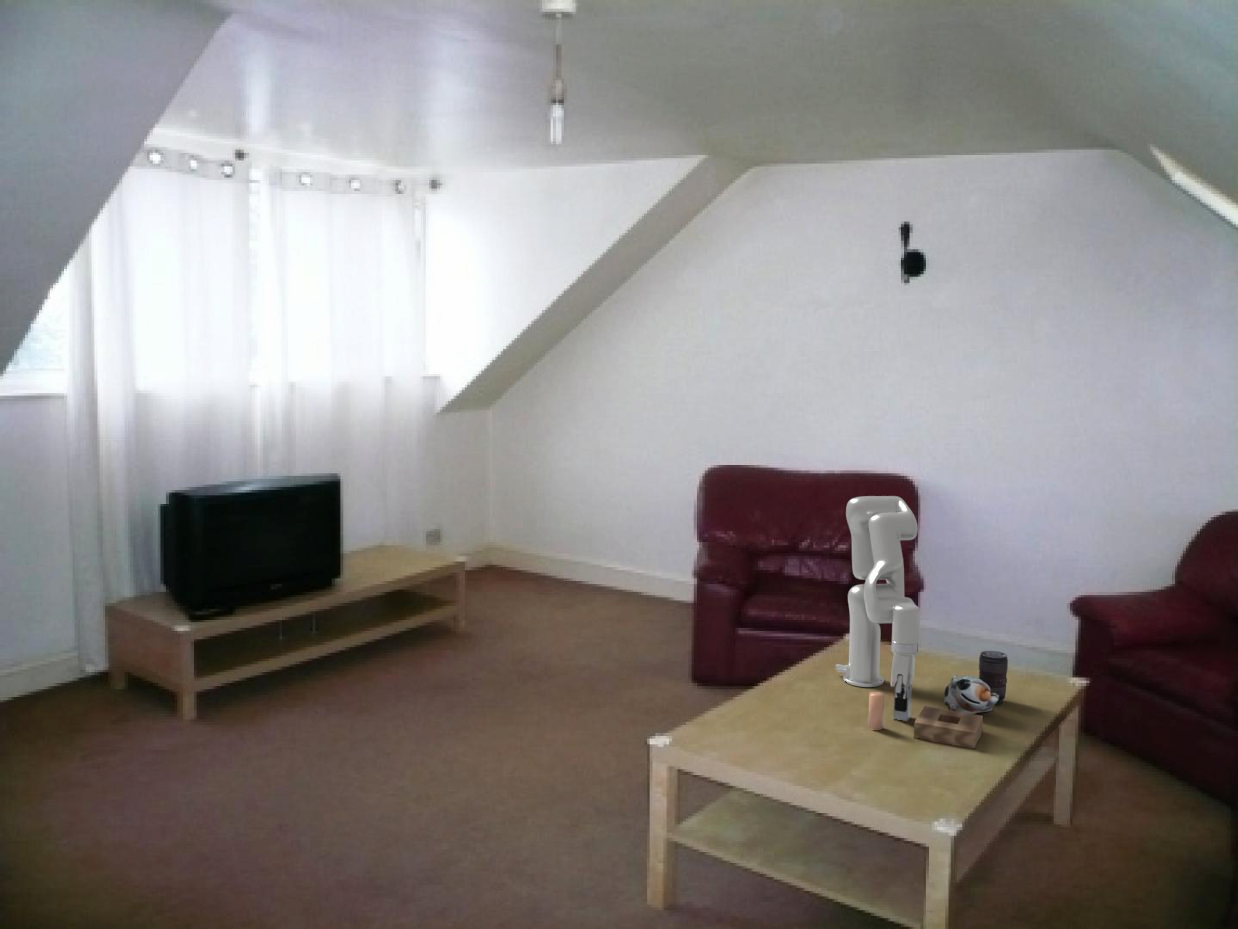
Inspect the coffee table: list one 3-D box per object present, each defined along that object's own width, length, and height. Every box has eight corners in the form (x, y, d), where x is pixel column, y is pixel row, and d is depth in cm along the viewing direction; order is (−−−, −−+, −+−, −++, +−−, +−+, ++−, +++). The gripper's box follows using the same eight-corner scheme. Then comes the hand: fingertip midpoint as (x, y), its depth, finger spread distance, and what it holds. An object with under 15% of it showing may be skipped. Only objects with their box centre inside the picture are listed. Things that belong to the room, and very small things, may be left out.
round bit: (866, 729, 290) (867, 695, 289) (870, 724, 293) (871, 690, 292) (880, 732, 288) (882, 697, 287) (884, 727, 292) (885, 693, 290)
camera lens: (1001, 697, 316) (1004, 650, 314) (1008, 707, 308) (1011, 658, 306) (974, 696, 317) (976, 649, 315) (980, 706, 309) (983, 657, 307)
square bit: (893, 719, 297) (894, 686, 296) (896, 715, 301) (897, 682, 300) (907, 722, 295) (908, 688, 294) (910, 717, 299) (911, 684, 298)
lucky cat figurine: (998, 707, 308) (1009, 675, 299) (984, 733, 300) (995, 701, 291) (949, 684, 314) (959, 653, 306) (935, 709, 306) (944, 678, 298)
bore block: (913, 738, 284) (914, 722, 283) (923, 721, 296) (924, 706, 296) (974, 749, 277) (975, 732, 276) (982, 731, 289) (982, 715, 288)
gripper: (898, 637, 304) (895, 697, 307) (885, 653, 290) (882, 715, 292) (924, 641, 301) (921, 701, 303) (912, 657, 286) (909, 720, 289)
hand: (902, 707), depth 298 cm, fingers closed on square bit, 4 cm apart
